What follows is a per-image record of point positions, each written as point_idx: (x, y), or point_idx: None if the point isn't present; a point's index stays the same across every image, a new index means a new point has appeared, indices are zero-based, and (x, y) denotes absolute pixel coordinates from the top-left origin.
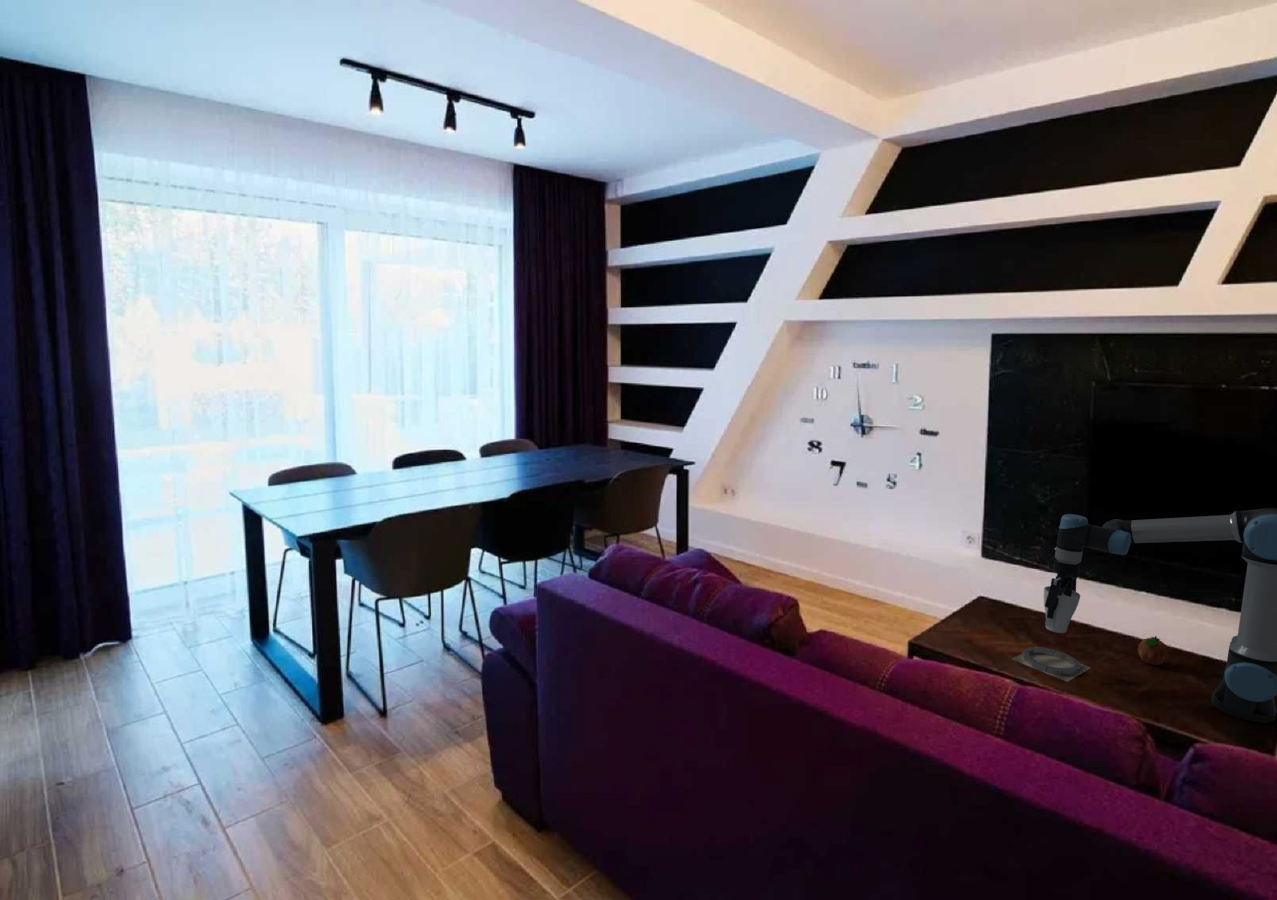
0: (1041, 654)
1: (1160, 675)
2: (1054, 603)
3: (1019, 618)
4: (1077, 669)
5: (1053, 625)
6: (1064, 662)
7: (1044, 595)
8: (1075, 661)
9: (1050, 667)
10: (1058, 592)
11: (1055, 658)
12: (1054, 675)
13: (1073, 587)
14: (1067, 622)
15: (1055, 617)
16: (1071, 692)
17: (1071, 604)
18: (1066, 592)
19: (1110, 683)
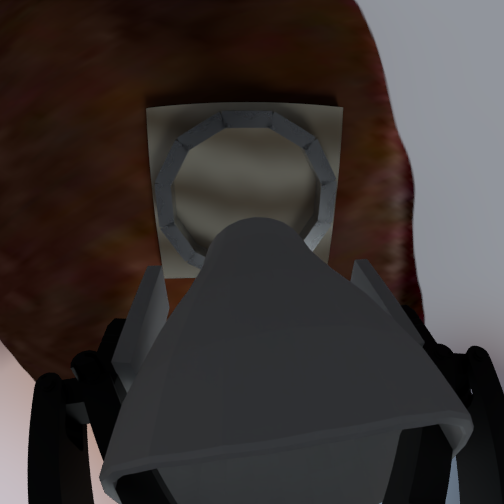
0: (204, 243)
1: (10, 25)
2: (488, 381)
3: (52, 358)
4: (249, 110)
5: (373, 270)
6: (192, 174)
7: (352, 471)
8: (188, 143)
9: (329, 172)
10: (498, 469)
11: (190, 205)
12: (332, 149)
13: (67, 502)
14: (285, 242)
15: (393, 302)
16: (373, 84)
17: (406, 342)
18: (159, 479)
19: (188, 31)
